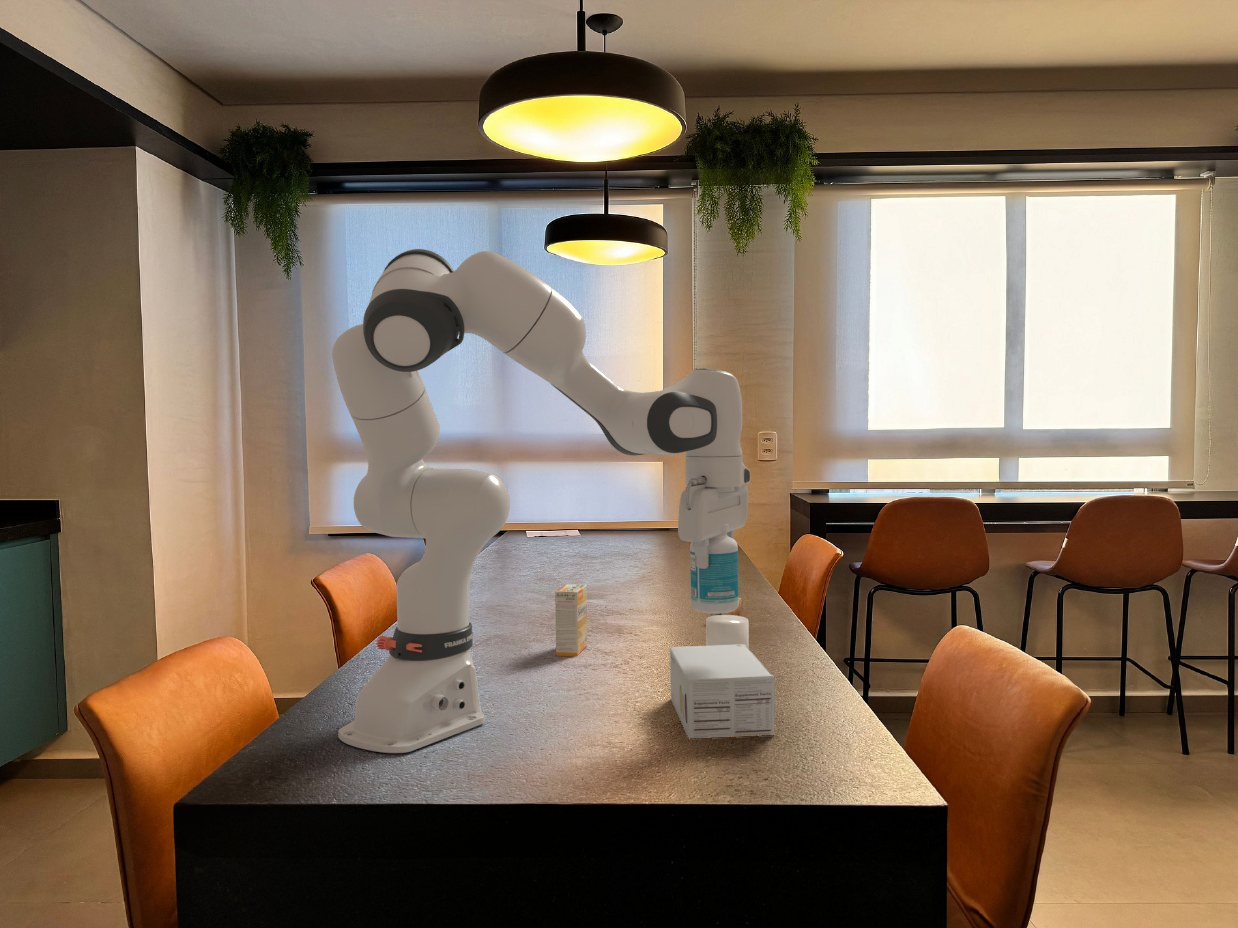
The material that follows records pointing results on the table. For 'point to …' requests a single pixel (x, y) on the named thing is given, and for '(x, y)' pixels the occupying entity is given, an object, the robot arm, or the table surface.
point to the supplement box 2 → (722, 691)
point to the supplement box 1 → (571, 619)
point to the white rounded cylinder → (727, 630)
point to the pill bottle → (716, 577)
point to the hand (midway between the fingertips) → (714, 563)
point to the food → (733, 611)
